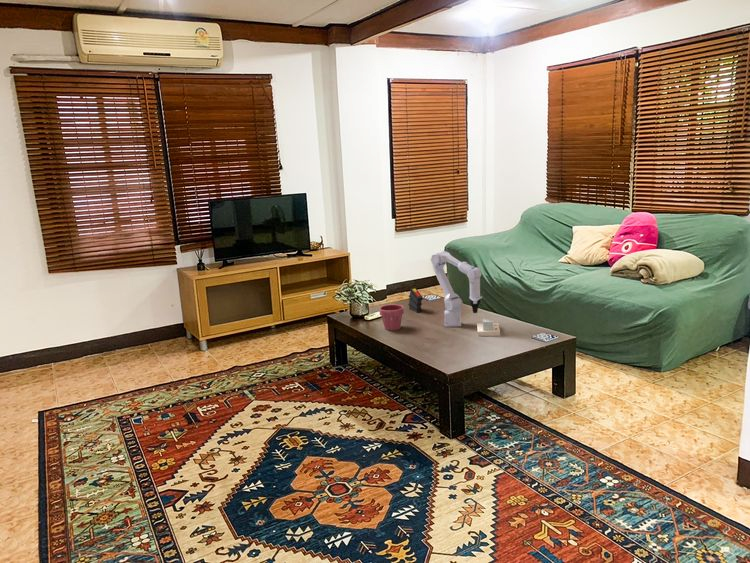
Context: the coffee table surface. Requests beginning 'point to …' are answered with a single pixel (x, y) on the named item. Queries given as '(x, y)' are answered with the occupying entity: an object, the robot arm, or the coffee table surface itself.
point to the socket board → (488, 333)
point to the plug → (487, 324)
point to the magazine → (415, 300)
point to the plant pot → (392, 316)
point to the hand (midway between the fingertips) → (475, 312)
